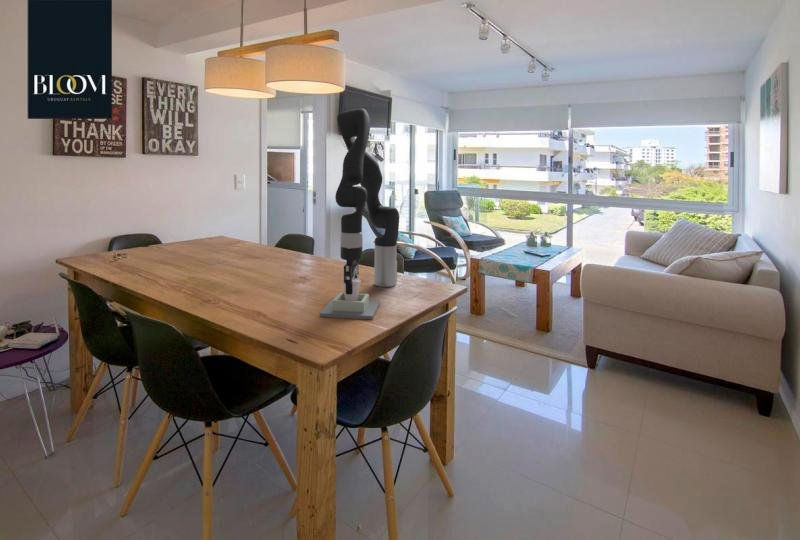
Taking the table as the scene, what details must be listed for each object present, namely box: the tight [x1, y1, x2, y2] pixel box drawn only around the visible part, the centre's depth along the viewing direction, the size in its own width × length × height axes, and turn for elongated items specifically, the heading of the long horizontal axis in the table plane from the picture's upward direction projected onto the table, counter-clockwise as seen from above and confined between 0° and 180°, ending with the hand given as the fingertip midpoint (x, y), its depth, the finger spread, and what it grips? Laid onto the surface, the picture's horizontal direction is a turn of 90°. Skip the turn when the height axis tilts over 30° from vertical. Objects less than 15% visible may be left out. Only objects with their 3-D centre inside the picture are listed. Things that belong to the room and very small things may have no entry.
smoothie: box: [342, 277, 362, 301], centre depth 170 cm, size 6×6×14 cm
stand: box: [319, 292, 381, 320], centre depth 171 cm, size 18×18×5 cm
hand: (351, 290), depth 170 cm, fingers open, 8 cm apart
